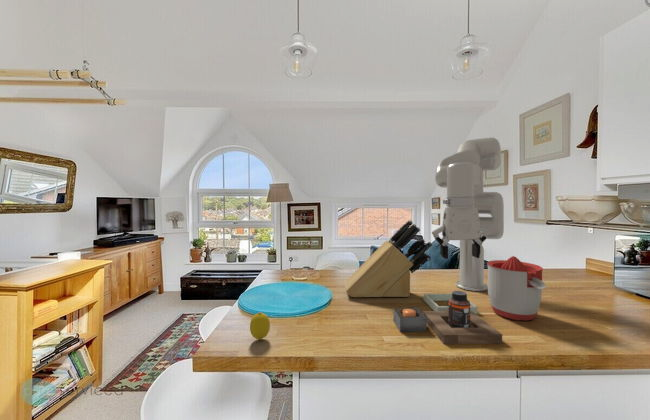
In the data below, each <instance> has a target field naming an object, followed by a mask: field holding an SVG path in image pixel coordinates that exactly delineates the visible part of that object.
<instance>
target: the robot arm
mask: <svg viewBox="0 0 650 420" xmlns="http://www.w3.org/2000/svg"><path fill="white" fill-rule="evenodd" d="M501 163H502V149H501V145H500V141H499V140H498V139H497V138H495V137H483V138H474V139H468V140H465V141H462V142H461V144H459V146H458V149H457V152H455V153H454V154H452V155H450V156H447V157H445V158H443V159H442V160H441V161H440V162H439V164H438V165H437V167H436V171H435V175H434V176H435V177H434V180H435V183H436V185H437V186H438V187H440V188H446V199H443V200H442V204H443V205H446V207H445V208H444V210H443V211H444V212H443V216H442V222H441V223H442V226H440V227H438V228H436V229H434V230H432V231H431V234H432V236H433V238H434V240H435V241H436V242H437V243H438V244H439V245H440V249H439V250H440V256H441V257H442V258H443V259H444V260H445V259H446V260H448V259H449V246H448V243H449V242H450V241H459V274H458V277H459V280H458V281H456V283H455V286H456V287H457V288H459V289H463V290H466V291H472V292H484V291H485V292H486V291H488V284H487V283H485V281H484V280H485V278H484V277H485V276H484V275H485V250H484V246H483V243H484V242H485V241H486V240H500V239H501V238H503V236H504V227H505V226H504V225H505V223H504V222H505V220H504V218H505V217H504V216H505V215H504V210H505V209H504V198H503V195H502V194H501V193H500V192H496V191H484V180H483V179H484V172H485V171H486V172H487V171H495V170H497V169H499V168H500V166H501ZM487 214H488V215H490V216H480V215H487ZM439 234H441V236H442V237H440V235H439Z"/></svg>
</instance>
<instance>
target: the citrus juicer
mask: <svg viewBox="0 0 650 420" xmlns="http://www.w3.org/2000/svg"><path fill="white" fill-rule="evenodd" d="M486 265H487V286H488V289H487V294H488V299H489V302H490V306H491V308H492V310H493V312H494V313H495V314H497V315H498V316H501V317H504V318H506V319H510V320H513V321H531V320H534V319H535V318H536V316H537V313H539V308H540V307H541V301H542V293H543V290H545V289H546V288H547V284H546V283H545V282H544V281H543V270H544V268H543V267H542V266H541V265H537V264H534V263H530V262H524V261H521V260H520V259H519V258H517V257H516V256H515V255H512V256H510V257H509V258H507V260H503V259H502V260H501V259H500V260H499V259H498V260H497V259H495V260H489V261H487V262H486Z"/></svg>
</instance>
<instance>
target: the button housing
mask: <svg viewBox="0 0 650 420" xmlns="http://www.w3.org/2000/svg"><path fill="white" fill-rule="evenodd" d="M404 309H412V310H415V311H416V316H409V317H404V316H403V310H404ZM392 316H393V322H394V323H395V325H396V327H397V329H398V331H399V332H400V333H411V332H412V333H419V332H420V333H421V332H426V333H427V332H428V329H427V328H428V324H427V318H426V317H425V316H424V315H423V311H421V310H420V309H419V307H396V308H395V307H393V315H392Z"/></svg>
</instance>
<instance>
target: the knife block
mask: <svg viewBox="0 0 650 420" xmlns="http://www.w3.org/2000/svg"><path fill="white" fill-rule="evenodd" d="M413 223H414V222H413V221H412V220H411V219H409V220H408V221H407V222H405V223H404V224H403V225H402V226H401V227H399V229H398V230H397V231H396V232H395V233H394V234H393V235H392V236H391V237H390V239H388V240H385V241H383V243H382V244H381V245H380V246H379V247H378V248H377V249H376V250H375V251H374V252H373V253H372V254H371V255H369V257H368V258H367V259H366V260H365V261H364V262H363V263H362V264H361V265H360V266H359V267H358V268H357V269H356V270H355V271H354V272H353V273H352V274H351V275H350V276H349V277H348V278H347V279H346V280H345V282H344V286H345V291H346V293H347V295H349V296H350V297H351V298H384V297H385V298H387V297H389V298H394V297H395V298H397V297H399V298H400V297H401V298H402V297H403V298H407V297H410V295H411V294H410V293H411V274H413V273H415V272H416V271H418V270H419V269H420V268H421V267H423V265H425V263H427V262H428V261H430V260H431V258H432V257H431V256H430V255H428V254H427V253H426V252H427V251H428V249H430V248H431V247H432V246H433V244H432V241H428V242H426V240H425V239H423V238H422V239H420V240H419V239H418V240H416V241H414V242H413V243H412V244H411V245H410V247H409V248H408V249H407V251H406V253H405V254H404V253H402V252H401V251H400V250H402V249H404V247H405V246H406V245H407V244H409V243H410V242H411V241H412V240H413V239H414V237H416V235H417V234H418V233H419V232H421V229H420V227H419V226H417V225H416V224H415V223H414V224H413ZM411 256H412V257H411ZM410 257H411V258H410ZM409 258H410V259H409Z"/></svg>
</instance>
